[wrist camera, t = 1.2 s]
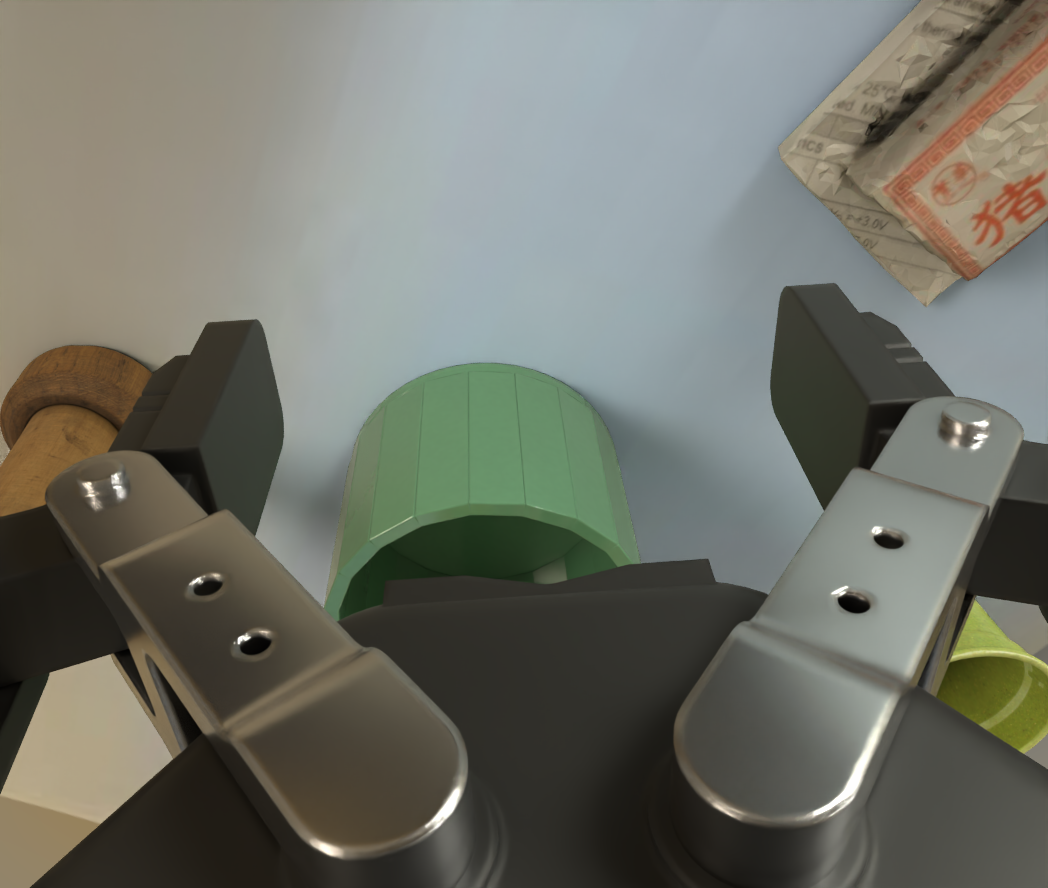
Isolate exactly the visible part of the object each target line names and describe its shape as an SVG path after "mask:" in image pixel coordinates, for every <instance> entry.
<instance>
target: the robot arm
mask: <svg viewBox="0 0 1048 888" xmlns="http://www.w3.org/2000/svg"><path fill="white" fill-rule="evenodd" d="M770 389H771V400H772V405H773V410H774V413H775V415H776V417H777V419H778V421H779V423H780V425H781V427H782V429H783V431H784V433H785V435H786V437H787V439H788V441H789V443H790V445H791V447H792V449H793V451H794V453H795V455H796V457H797V459H798V461H799V463H800V465H801V466H802V468H803V470H804V472H805V474H806V476H807V478H808V480H809V482H810V484H811V486H812V488H813V490H814V492H815V494H816V496H817V498H818V500H819V502H820V504H821V506H822V508H823V510H824V512H823V514H822V515H821V517H820V518H819V520H818V521H817V523H816V524H815V526H814V527H813V529H812V530H811V532H810V533H809V535H808V536H807V538H806V539H805V541H804V542H803V544H802V545H801V547H800V548H799V550H798V551H797V553H796V554H795V556H794V557H793V559H792V560H791V562H790V563H789V565H788V566H787V568H786V569H785V571H784V573H783V574H782V576H781V577H780V579H779V580H778V582H777V583H776V585H775V586H774V588H773V589H772V591H771V592H770V594H769V595H768V594H766V593H763V592H760V591H757V590H753V589H750V588H747V587H742V586H738V585H733V584H728V583H721V582H715V579H714V576H713V572H712V569H711V566H710V563H709V560H708V559H699V560H684V561H669V562H655V563H640V564H628V565H624V566H620V567H616V568H612V569H608V570H605V571H601V572H597V573H593V574H589V575H585V576H581V577H577V578H573V579H569V580H566V581H562V582H558V583H553V584H537V583H528V582H519V581H510V580H501V579H492V578H484V577H475V576H466V575H463V576H448V577H433V578H419V579H404V580H389V581H385V587H384V596H383V604H382V605H378V606H375V607H371V608H368V609H365V610H363V611H360V612H357V613H354V614H352V615H350V616H347V617H345V618H343V619H341V620H339V621H336V620H335V619H334V618H333V617H332V616H331V615H330V614H329V613H328V612H327V611H326V610H325V609H324V608H323V607H322V606H321V605H320V604H319V603H318V602H317V601H316V600H315V599H314V598H313V597H312V595H311V594H310V593H309V592H308V591H307V590H306V589H305V588H304V587H303V586H302V585H301V584H300V583H299V582H298V581H297V580H296V579H295V578H294V577H293V576H292V575H291V574H290V573H289V572H288V571H287V570H286V569H285V567H284V566H283V565H282V564H281V563H280V562H279V561H278V560H277V559H276V558H275V557H274V556H273V555H272V554H271V553H270V552H269V551H268V550H267V549H266V548H265V547H264V546H263V545H262V544H261V543H260V542H259V540H258V539H257V538H256V537H255V535H256V532H257V529H258V525H259V522H260V519H261V515H262V512H263V509H264V505H265V502H266V499H267V496H268V492H269V489H270V486H271V482H272V479H273V476H274V472H275V469H276V466H277V463H278V459H279V456H280V453H281V449H282V445H283V438H284V422H283V413H282V407H281V402H280V398H279V394H278V389H277V385H276V380H275V376H274V372H273V367H272V363H271V359H270V354H269V350H268V345H267V341H266V337H265V333H264V330H263V327H262V325H261V323H260V322H259V321H258V320H257V319H255V320H240V321H224V322H209V323H207V324H206V326H205V328H204V329H203V331H202V333H201V335H200V337H199V339H198V341H197V343H196V345H195V346H194V348H193V350H192V352H191V354H190V355H181V356H175V357H174V358H173V359H171V360H170V361H169V362H167V363H166V364H165V365H163V366H162V367H161V368H159V369H158V370H157V371H155V372H154V373H153V374H152V375H151V377H150V379H149V381H148V382H147V384H146V386H145V388H144V389H143V391H142V396H140V397H139V398H138V400H137V401H136V403H135V405H134V407H133V412H130V414H129V415H128V417H127V419H126V421H125V422H124V424H123V426H122V427H121V429H120V431H119V433H118V434H117V436H116V438H115V440H114V441H113V443H112V445H111V447H110V448H109V450H108V452H107V453H102V454H99V455H95V456H92V457H89V458H86V459H84V460H81V461H79V462H77V463H75V464H73V465H71V466H70V467H68V468H66V469H65V470H63V471H62V472H61V473H59V474H58V475H57V476H56V477H55V478H54V479H53V480H52V481H51V482H50V484H49V485H48V487H47V489H46V492H45V501H46V504H45V505H43V506H40V507H36V508H33V509H29V510H25V511H21V512H18V513H14V514H10V515H6V516H2V517H0V794H1V791H2V789H3V786H4V784H5V782H6V779H7V777H8V774H9V772H10V770H11V767H12V765H13V762H14V760H15V758H16V755H17V753H18V750H19V748H20V745H21V743H22V741H23V738H24V736H25V733H26V731H27V729H28V726H29V724H30V721H31V719H32V717H33V714H34V712H35V709H36V707H37V705H38V702H39V700H40V697H41V695H42V693H43V690H44V688H45V685H46V683H47V680H48V677H49V673H50V672H53V671H56V670H60V669H63V668H66V667H70V666H73V665H76V664H80V663H83V662H86V661H89V660H93V659H96V658H99V657H103V656H106V655H109V654H110V655H111V657H112V659H113V662H114V664H115V665H116V667H117V668H118V670H119V672H120V673H121V675H122V676H123V678H124V679H125V681H126V683H127V684H128V686H129V687H130V689H131V691H132V692H133V694H134V695H135V697H136V698H137V700H138V702H139V703H140V705H141V706H142V708H143V709H144V711H145V713H146V714H147V716H148V717H149V719H150V721H151V722H152V724H153V725H154V727H155V728H156V730H157V732H158V733H159V735H160V736H161V738H162V740H163V741H164V743H165V745H166V746H167V748H168V750H169V752H170V754H171V756H172V758H173V760H172V761H171V762H170V763H168V764H167V765H166V766H165V767H164V768H163V769H162V770H161V771H160V772H158V773H157V774H156V775H155V776H154V777H153V778H152V779H151V780H149V781H148V782H147V783H146V784H145V785H144V786H143V787H142V788H141V789H139V790H138V791H137V792H136V793H135V794H134V795H133V796H132V797H130V798H129V799H128V800H127V801H126V802H125V803H124V804H123V805H122V806H120V807H119V808H118V809H117V810H116V811H115V812H114V813H113V814H111V815H110V816H109V817H108V818H107V819H106V820H105V821H104V822H103V823H101V824H100V825H99V826H98V827H97V828H96V829H95V830H94V831H92V832H91V833H90V834H89V835H88V836H87V837H86V838H85V839H84V840H82V841H81V842H80V843H79V844H78V845H77V846H76V847H75V848H73V850H71V851H70V852H69V853H68V854H67V855H66V856H65V857H63V858H62V859H61V860H60V861H59V862H58V863H57V864H56V865H54V867H52V868H51V869H50V870H49V871H48V872H47V873H46V874H44V876H42V877H41V878H40V879H39V880H38V881H37V882H35V883H34V884H33V885H32V886H31V887H30V888H1048V769H1046V768H1045V767H1043V766H1042V765H1040V764H1039V763H1037V762H1035V761H1034V760H1032V759H1031V758H1029V757H1028V756H1026V755H1025V754H1023V753H1022V752H1020V751H1018V750H1017V749H1015V748H1014V747H1012V746H1011V745H1009V744H1008V743H1006V742H1005V741H1003V740H1001V739H1000V738H998V737H997V736H995V735H994V734H992V733H991V732H989V731H987V730H986V729H984V728H983V727H981V726H980V725H978V724H977V723H975V722H974V721H972V720H970V719H969V718H967V717H966V716H964V715H963V714H961V713H960V712H958V711H957V710H955V709H953V708H952V707H950V706H949V705H947V704H946V703H944V702H943V701H941V700H940V699H938V698H936V695H937V693H938V690H939V687H940V685H941V682H942V680H943V677H944V675H945V673H946V670H947V668H948V665H949V663H950V660H951V658H952V655H953V653H954V651H955V648H956V646H957V643H958V641H959V638H960V636H961V633H962V631H963V628H964V626H965V624H966V621H967V619H968V616H969V614H970V611H971V609H972V606H973V604H974V601H975V597H976V595H977V596H983V597H989V598H995V599H1002V600H1008V601H1014V602H1021V603H1027V604H1033V605H1039V609H1040V611H1041V613H1042V615H1043V616H1044V618H1045V620H1046V621H1047V623H1048V444H1042V443H1035V442H1029V441H1025V440H1023V439H1024V430H1023V428H1022V426H1021V424H1020V423H1019V422H1018V420H1017V419H1016V418H1014V417H1013V416H1012V415H1011V414H1009V413H1008V412H1006V411H1005V410H1003V409H1001V408H999V407H997V406H994V405H992V404H989V403H987V402H983V401H980V400H976V399H971V398H965V397H956V396H955V395H954V394H953V393H952V392H951V390H950V389H949V388H948V387H947V386H946V384H945V383H944V382H943V381H942V380H941V379H940V377H939V376H938V375H937V374H936V373H935V371H934V370H933V369H932V368H931V367H930V365H929V364H928V363H927V362H923V357H922V356H921V355H920V353H919V352H918V351H917V350H916V349H915V348H914V347H911V343H910V342H909V340H908V339H907V338H906V337H905V336H904V334H903V333H902V332H901V331H900V330H899V328H898V327H897V326H895V325H893V324H892V323H890V322H888V321H886V320H884V319H882V318H881V317H879V316H877V315H875V314H873V313H872V312H861V313H859V312H858V311H857V309H856V308H855V307H854V306H853V304H852V303H851V302H850V301H849V299H848V298H847V297H846V295H845V294H844V293H843V292H842V290H841V289H840V288H839V287H838V285H837V284H835V283H829V284H813V285H798V286H786V287H785V288H784V289H783V291H782V293H781V296H780V301H779V308H778V317H777V325H776V334H775V343H774V351H773V360H772V369H771V380H770Z"/></svg>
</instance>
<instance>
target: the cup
mask: <svg viewBox="0 0 1048 888" xmlns="http://www.w3.org/2000/svg"><path fill="white" fill-rule="evenodd" d="M640 563H641V559H640V555H639V551H638V546H637V542H636V538H635V533H634V529H633V524H632V520H631V516H630V511H629V507H628V503H627V498H626V494H625V489H624V485H623V481H622V476H621V472H620V468H619V464H618V459H617V455H616V451H615V447H614V443H613V441H612V438H611V436H610V433H609V431H608V428H607V427H606V425H605V423H604V422H603V420H602V418H601V417H600V415H599V414H598V413H597V412H596V411H595V409H594V408H593V407H592V406H591V405H590V404H589V403H588V402H587V401H586V400H585V399H584V398H583V397H582V396H581V395H580V394H578V393H577V392H576V391H574V390H573V389H571V388H570V387H568V386H567V385H565V384H564V383H562V382H560V381H558V380H556V379H554V378H552V377H550V376H548V375H545V374H543V373H540V372H537V371H534V370H532V369H527V368H523V367H519V366H515V365H507V364H498V363H473V364H464V365H456V366H452V367H448V368H444V369H439V370H436V371H434V372H431V373H428V374H425V375H423V376H420V377H419V378H417V379H415V380H413V381H411V382H409V383H407V384H405V385H404V386H402V387H401V388H399V389H398V390H396V391H395V392H393V393H392V394H391V395H389V396H388V397H387V398H386V399H385V400H384V401H383V402H382V403H380V404H379V405H378V407H377V408H376V409H375V410H374V411H373V412H372V414H371V415H370V416H369V417H368V419H367V420H366V422H365V424H364V425H363V427H362V429H361V430H360V432H359V435H358V437H357V440H356V442H355V444H354V449H353V453H352V457H351V461H350V463H349V466H348V471H347V476H346V482H345V488H344V494H343V499H342V505H341V511H340V517H339V522H338V528H337V534H336V539H335V545H334V551H333V557H332V562H331V568H330V574H329V580H328V585H327V591H326V597H325V602H324V609H325V610H326V611H327V612H328V613H329V614H330V615H331V616H332V617H333V618H334V619H335V620H336V621H339V620H341V619H343V618H345V617H347V616H350V615H352V614H354V613H357V612H360V611H363V610H365V609H368V608H371V607H375V606H378V605H382V604H383V596H384V587H385V581H389V580H404V579H419V578H433V577H448V576H463V575H466V576H475V577H484V578H492V579H501V580H510V581H519V582H528V583H537V584H553V583H558V582H562V581H566V580H569V579H573V578H577V577H581V576H585V575H589V574H593V573H597V572H601V571H605V570H608V569H612V568H616V567H620V566H624V565H628V564H640Z"/></svg>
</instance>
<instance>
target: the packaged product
mask: <svg viewBox="0 0 1048 888" xmlns="http://www.w3.org/2000/svg"><path fill="white" fill-rule="evenodd" d="M778 149H779V153H780V156H781V160H782V161H783V162H784V163H785V164H786V166H787V167H788V168H789V169H790V171H791V172H792V173H793V174H794V175H795V177H796V178H797V179H798V180H799V181H800V182H801V183H802V184H803V185H804V186H805V187H806V188H807V189H808V190H809V191H810V192H811V193H812V194H813V195H814V196H815V197H816V198H817V199H819V200H820V201H821V202H822V203H823V204H824V205H825V206H826V207H827V208H828V209H829V210H830V211H831V212H832V213H833V214H834V215H835V216H836V217H837V218H838V219H839V220H840V221H841V223H842V224H843V225H844V226H845V227H846V228H847V230H848V231H849V232H850V233H851V234H852V236H853V237H854V238H855V239H856V240H857V241H858V242H859V243H860V244H861V245H862V246H863V247H864V248H865V249H866V250H867V251H868V252H869V254H870V255H871V256H872V257H873V258H874V259H875V260H876V261H877V262H878V263H879V264H880V265H881V266H882V267H883V268H884V269H885V270H886V271H887V272H888V273H889V274H890V275H891V276H893V277H894V278H895V279H896V280H897V281H898V282H899V283H900V284H901V285H903V286H904V287H905V288H906V289H907V290H908V291H909V292H910V293H911V294H913V295H914V296H915V297H916V298H917V299H918V300H919V301H920V302H921V303H922V304H923V305H924V306H925V307H927V306H928V305H929V304H930V303H931V302H932V301H933V300H934V299H935V298H936V297H937V296H938V295H939V294H940V293H942V292H943V291H944V290H945V289H946V288H948V287H949V286H950V285H951V284H952V283H953V282H955V281H956V280H957V279H960V278H962V277H963V278H964V279H965V280H967V281H969V280H971V279H974V278H976V277H977V276H978V275H979V274H981V273H982V272H983V271H984V270H985V269H986V268H988V267H989V266H990V265H992V264H993V263H994V262H996V261H997V260H999V259H1000V258H1001V257H1003V256H1004V255H1005V254H1006V253H1008V252H1009V251H1010V250H1012V249H1013V248H1014V247H1015V246H1017V245H1018V244H1019V243H1020V242H1022V241H1023V240H1024V239H1025V238H1027V237H1028V236H1029V235H1030V234H1031V233H1033V232H1034V231H1035V230H1036V229H1038V228H1039V227H1040V226H1041V225H1042V224H1043V223H1045V222H1046V221H1047V220H1048V0H922V1H921V2H920V3H919V4H918V5H917V6H916V7H915V8H914V9H913V10H912V11H911V12H910V13H909V14H908V15H907V16H906V17H905V18H904V19H903V20H902V21H901V22H900V23H899V24H898V25H897V26H896V27H895V28H894V29H893V30H892V31H891V32H890V33H889V34H888V35H887V37H886V38H885V39H884V40H883V41H882V42H881V43H880V44H879V45H878V46H877V47H876V48H875V49H874V50H873V51H872V52H871V53H870V54H869V55H868V56H867V57H866V58H865V59H864V60H863V61H862V62H861V63H860V64H859V65H858V66H857V67H856V68H855V69H854V70H853V71H852V72H851V73H850V74H849V75H848V76H847V77H846V78H845V79H844V80H843V81H842V82H841V83H840V84H839V85H838V86H837V87H836V88H835V89H834V91H833V92H832V93H831V94H830V95H829V96H828V97H827V98H826V99H825V100H824V101H823V102H822V103H821V104H820V105H819V106H818V107H817V108H816V109H815V110H814V111H813V112H812V113H811V114H810V115H809V116H808V117H807V118H806V119H805V120H804V121H803V122H802V123H801V124H800V125H799V126H798V127H797V128H796V129H795V130H794V131H793V132H792V133H791V134H790V135H789V136H788V137H787V138H786V139H785V140H784V141H783V142H782V143H781V145H780V146H779V147H778Z"/></svg>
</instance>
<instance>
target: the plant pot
mask: <svg viewBox="0 0 1048 888" xmlns="http://www.w3.org/2000/svg"><path fill="white" fill-rule="evenodd" d="M936 698H938V699H940V700H941V701H943V702H944V703H946V704H947V705H949V706H950V707H952V708H953V709H955V710H957V711H958V712H960V713H961V714H963V715H964V716H966V717H967V718H969V719H970V720H972V721H974V722H975V723H977V724H978V725H980V726H981V727H983V728H984V729H986V730H987V731H989V732H991V733H992V734H994V735H995V736H997V737H998V738H1000V739H1001V740H1003V741H1005V742H1006V743H1008V744H1009V745H1011V746H1012V747H1014V748H1015V749H1017V750H1018V751H1020V752H1022V753H1023V754H1025V753H1026V752H1027V751H1028V750H1030V749H1031V748H1033V747H1034V746H1035V745H1036V744H1037V743H1038V742H1039V741H1040V740H1042V739H1043V738H1044V737H1045V736H1046V735H1047V734H1048V665H1047V664H1045V663H1044V662H1043V661H1041V660H1040V659H1038V658H1036V657H1034V656H1032V655H1030V654H1027V652H1026V651H1025V650H1024V649H1022V648H1021V647H1020V646H1019V645H1017V644H1016V643H1014V642H1013V641H1011V640H1009V638H1008V637H1007V636H1006V635H1005V634H1004V633H1003V632H1002V631H1001V629H1000V628H999V627H998V626H997V625H996V624H995V623H994V621H993V620H992V619H991V618H990V617H989V616H988V614H987V613H986V612H985V611H984V610H983V609H982V607H981V606H980V605H979V604H978V603H977V602H976V600H975V601H974V604H973V606H972V609H971V611H970V614H969V616H968V619H967V621H966V624H965V626H964V628H963V631H962V633H961V636H960V638H959V641H958V643H957V646H956V648H955V651H954V653H953V655H952V658H951V660H950V663H949V665H948V668H947V670H946V673H945V675H944V677H943V680H942V682H941V685H940V687H939V690H938V693H937V695H936Z"/></svg>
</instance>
